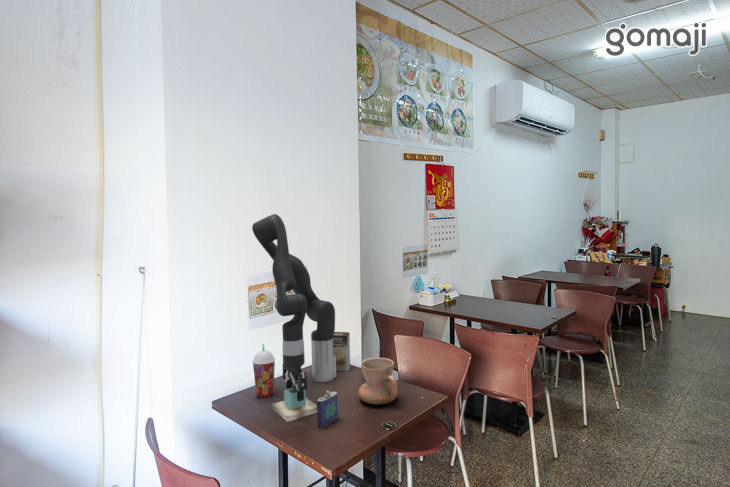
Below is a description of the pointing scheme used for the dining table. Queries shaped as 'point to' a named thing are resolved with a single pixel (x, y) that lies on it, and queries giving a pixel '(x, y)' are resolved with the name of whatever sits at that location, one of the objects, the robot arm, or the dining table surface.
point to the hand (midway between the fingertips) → (295, 396)
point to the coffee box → (342, 350)
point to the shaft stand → (296, 412)
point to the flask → (327, 409)
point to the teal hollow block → (293, 399)
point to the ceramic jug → (378, 381)
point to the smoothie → (264, 373)
